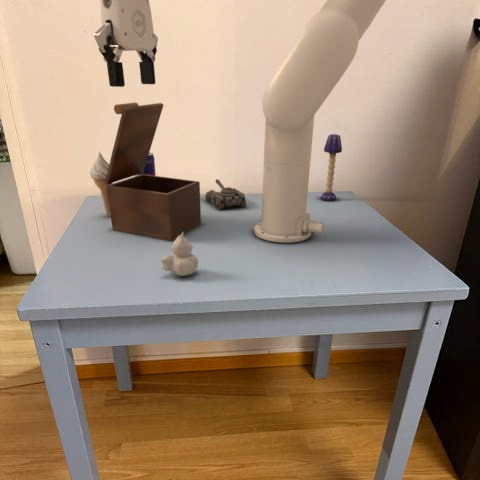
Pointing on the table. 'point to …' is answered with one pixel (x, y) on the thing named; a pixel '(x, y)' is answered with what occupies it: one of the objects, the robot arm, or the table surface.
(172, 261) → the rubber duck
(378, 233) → the table surface
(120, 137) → the chest lid
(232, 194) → the tank toy
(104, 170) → the ice cream cone
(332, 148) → the toy lamp
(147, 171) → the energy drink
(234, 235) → the table surface
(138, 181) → the chest
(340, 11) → the robot arm
